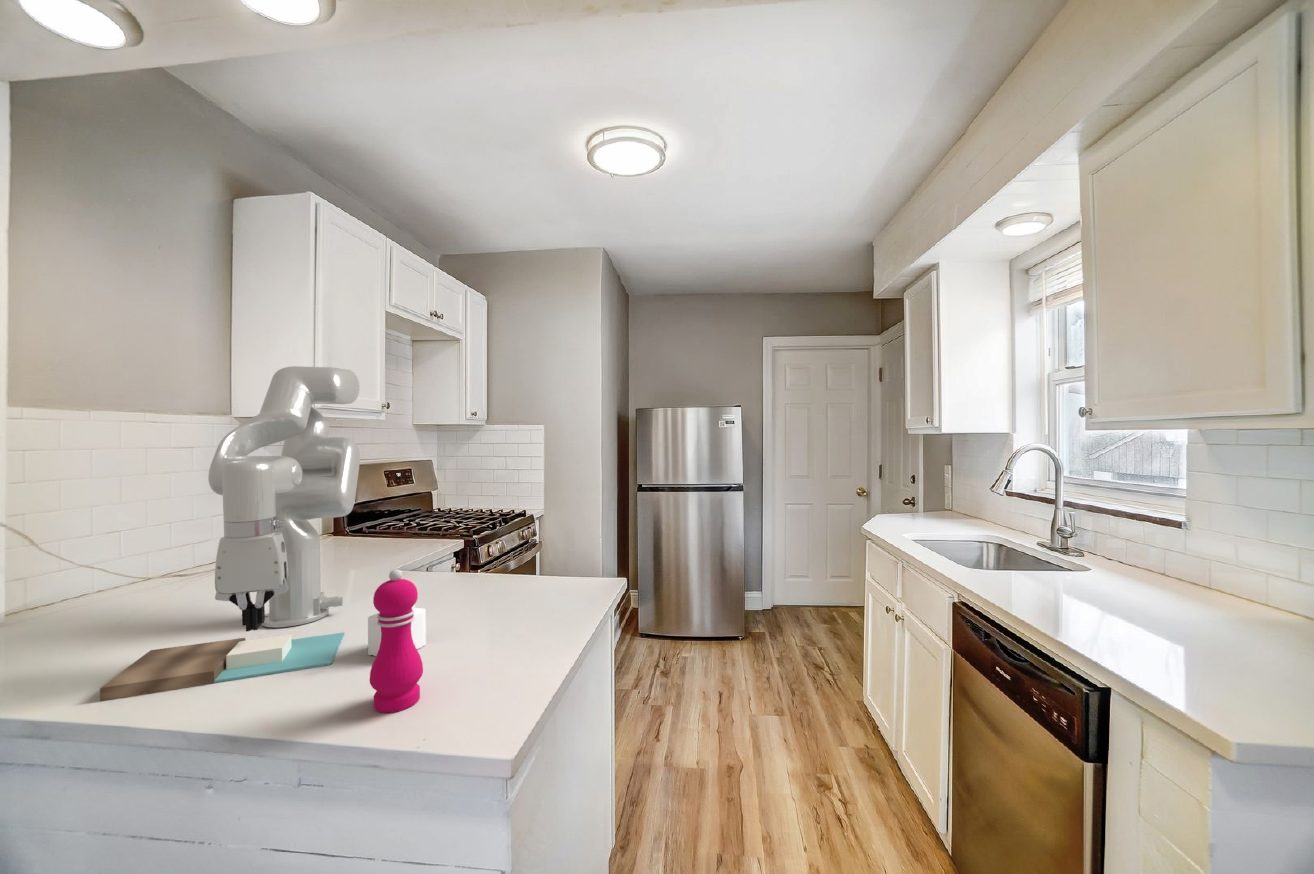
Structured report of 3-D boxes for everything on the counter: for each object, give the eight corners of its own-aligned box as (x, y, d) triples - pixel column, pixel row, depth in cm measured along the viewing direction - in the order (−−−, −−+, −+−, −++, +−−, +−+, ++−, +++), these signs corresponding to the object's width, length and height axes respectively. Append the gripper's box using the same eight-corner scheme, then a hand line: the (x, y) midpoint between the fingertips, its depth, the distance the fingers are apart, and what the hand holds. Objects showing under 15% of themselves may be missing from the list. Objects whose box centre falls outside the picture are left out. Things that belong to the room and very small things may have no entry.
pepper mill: (382, 692, 83) (381, 564, 83) (430, 689, 83) (428, 562, 83) (360, 716, 75) (358, 576, 75) (413, 713, 76) (411, 574, 76)
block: (291, 647, 100) (291, 634, 100) (282, 661, 94) (282, 647, 94) (239, 654, 97) (239, 641, 97) (226, 669, 91) (226, 655, 91)
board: (245, 647, 101) (245, 637, 101) (214, 682, 87) (214, 670, 87) (150, 661, 96) (150, 650, 96) (100, 700, 81) (100, 687, 81)
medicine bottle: (427, 645, 101) (426, 583, 101) (397, 660, 95) (396, 593, 95) (398, 641, 104) (397, 580, 104) (367, 655, 97) (366, 590, 97)
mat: (344, 634, 108) (344, 632, 108) (331, 664, 93) (331, 662, 93) (242, 648, 101) (242, 646, 101) (210, 683, 86) (210, 681, 86)
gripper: (304, 521, 102) (306, 614, 103) (206, 527, 96) (210, 626, 97) (295, 529, 95) (297, 629, 96) (189, 536, 89) (193, 643, 90)
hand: (253, 627), depth 96 cm, fingers closed
